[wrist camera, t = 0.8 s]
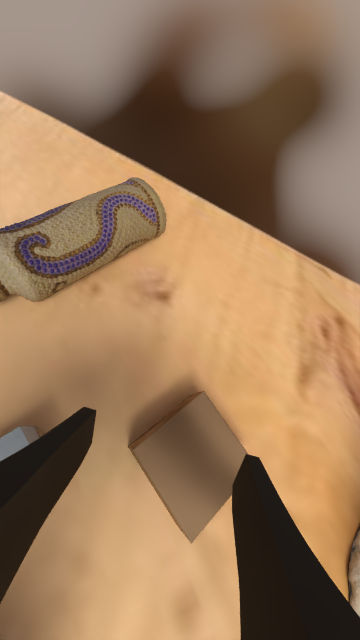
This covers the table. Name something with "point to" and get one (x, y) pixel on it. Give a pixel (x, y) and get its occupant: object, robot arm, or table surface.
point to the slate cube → (17, 440)
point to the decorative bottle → (77, 239)
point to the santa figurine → (355, 574)
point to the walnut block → (191, 462)
